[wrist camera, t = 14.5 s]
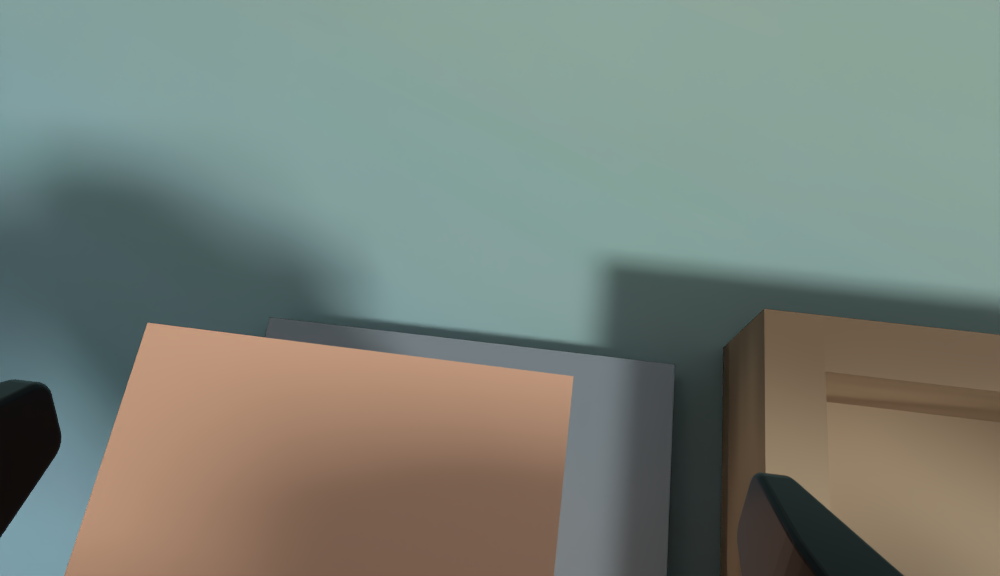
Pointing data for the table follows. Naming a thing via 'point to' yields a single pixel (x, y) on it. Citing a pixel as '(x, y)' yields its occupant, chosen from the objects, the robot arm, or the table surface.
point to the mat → (573, 441)
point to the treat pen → (870, 434)
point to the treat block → (324, 464)
